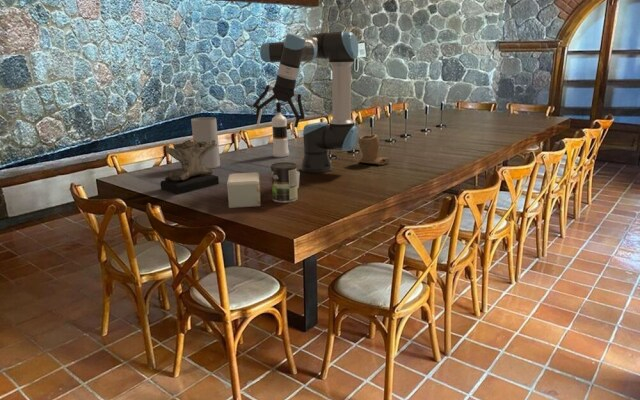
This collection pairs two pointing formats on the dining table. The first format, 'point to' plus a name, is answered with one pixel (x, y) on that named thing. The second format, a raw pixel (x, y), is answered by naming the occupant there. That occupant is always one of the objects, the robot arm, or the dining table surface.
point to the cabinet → (243, 190)
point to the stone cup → (371, 150)
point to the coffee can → (284, 182)
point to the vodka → (279, 134)
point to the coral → (190, 168)
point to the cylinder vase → (207, 139)
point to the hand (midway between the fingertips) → (274, 130)
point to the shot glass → (298, 178)
